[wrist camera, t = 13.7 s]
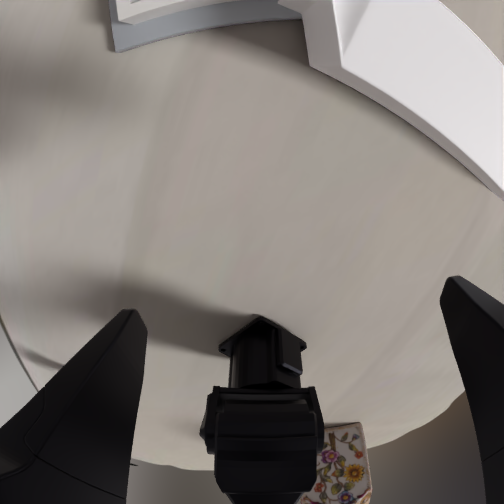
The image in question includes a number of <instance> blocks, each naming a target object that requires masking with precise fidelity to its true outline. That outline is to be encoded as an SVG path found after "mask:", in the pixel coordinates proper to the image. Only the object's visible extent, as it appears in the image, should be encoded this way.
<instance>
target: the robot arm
mask: <svg viewBox="0 0 504 504" xmlns="http://www.w3.org/2000/svg"><path fill="white" fill-rule="evenodd" d="M440 306H441V310H442V313H443V317H444V320H445V324H446V327H447V331H448V335H449V339H450V343H451V346H452V350H453V353H454V356H455V359H456V362H457V365H458V368H459V371H460V374H461V377H462V381H463V384H464V387H465V391H466V394H467V398H468V402H469V405H470V409H471V413H472V417H473V421H474V426H475V431H476V435H477V440H478V445H479V451H480V457H481V461H482V463H481V464H482V470H483V478H484V486H485V496H486V504H504V304H502V303H501V302H499V301H498V300H496V299H495V298H493V297H492V296H490V295H489V294H487V293H486V292H484V291H483V290H481V289H480V288H478V287H477V286H475V285H474V284H472V283H471V282H469V281H468V280H466V279H464V278H463V277H461V276H452V277H448V278H447V280H446V282H445V285H444V288H443V291H442V294H441V296H440ZM146 344H147V328H146V326H145V324H144V322H143V320H142V318H141V316H140V315H139V313H138V311H137V310H136V309H123V310H121V311H120V312H119V313H118V314H117V315H116V316H115V317H114V318H113V319H112V320H111V321H110V322H108V323H107V324H106V325H105V326H104V327H103V328H102V329H101V330H100V331H99V332H98V333H97V334H96V335H95V336H94V337H93V338H92V339H91V340H90V341H89V342H88V343H87V344H86V345H85V346H84V347H83V348H82V349H80V350H79V351H78V352H77V353H76V354H75V355H74V356H73V357H72V358H71V359H70V360H69V361H68V362H67V363H66V364H65V365H64V366H63V367H62V368H61V369H60V370H59V371H58V372H57V373H56V374H55V375H54V376H53V377H52V379H51V380H50V381H49V382H48V383H47V384H46V385H45V387H43V388H42V389H41V390H40V391H39V392H38V393H37V394H36V395H35V396H34V397H33V398H32V399H31V400H30V401H29V402H28V403H27V404H26V405H25V406H24V407H23V408H22V409H21V410H20V411H19V412H18V413H16V414H15V415H14V416H13V417H12V418H11V419H10V420H9V421H8V422H7V423H6V424H4V425H3V426H2V427H1V428H0V504H126V496H127V486H128V476H129V467H130V460H131V452H132V445H133V438H134V431H135V424H136V418H137V412H138V406H139V401H140V395H141V389H142V384H143V376H144V365H145V354H146ZM306 348H307V345H306V342H304V341H302V340H301V339H299V338H297V337H296V336H294V335H292V334H291V333H289V332H287V331H286V330H284V329H282V328H281V327H279V326H277V325H276V324H274V323H272V322H271V321H269V320H268V319H266V318H264V317H258V318H256V319H255V320H254V321H252V322H251V323H250V324H248V325H247V326H246V327H244V328H243V329H241V330H240V331H239V332H237V333H236V334H234V335H233V336H232V337H230V338H229V339H227V340H226V341H225V342H223V343H222V344H220V345H219V352H221V353H223V354H225V355H227V356H229V357H230V370H229V384H228V388H227V387H220V386H213V392H212V393H210V394H209V395H208V396H207V405H206V412H205V415H204V418H203V421H202V425H201V428H200V436H201V437H202V439H203V440H204V441H205V445H206V446H207V453H208V454H213V455H215V461H214V475H215V478H216V482H217V484H218V486H219V488H220V489H221V491H222V492H223V493H226V495H227V496H228V498H229V499H230V500H231V502H232V503H233V504H296V503H297V502H298V501H299V499H300V498H301V497H302V495H303V494H304V493H305V492H310V491H311V490H312V488H313V486H314V484H315V483H316V480H317V454H320V453H321V452H322V450H323V446H324V434H325V432H324V422H323V417H322V413H321V409H320V406H319V402H318V398H317V394H316V390H315V387H314V386H312V387H308V388H301V382H300V375H301V374H302V372H303V369H302V361H301V352H302V351H303V350H305V349H306Z"/></svg>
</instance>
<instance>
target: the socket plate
mask: <svg viewBox="0 0 504 504" xmlns="http://www.w3.org/2000/svg"><path fill="white" fill-rule="evenodd" d="M278 1H279V0H108V2H109V10H110V18H111V25H112V32H113V39H114V45H115V51H116V53H122V52H124V51H127V50H130V49H133V48H136V47H140V46H143V45H146V44H149V43H153V42H156V41H160V40H163V39H167V38H171V37H175V36H179V35H183V34H188V33H192V32H197V31H202V30H207V29H212V28H218V27H224V26H231V25H238V24H245V23H254V22H264V21H277V20H298V19H302V14H300V13H298V12H296V11H294V10H291V9H289V8H286V7H284V6H282V5H280V4H278Z"/></svg>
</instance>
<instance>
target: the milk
mask: <svg viewBox="0 0 504 504" xmlns="http://www.w3.org/2000/svg"><path fill="white" fill-rule="evenodd" d="M278 4H280V5H282V6H284V7H286V8H289V9H291V10H294V11H296V12H298V13H300V14H302V19H303V25H304V31H305V38H306V44H307V51H308V59H309V65H310V66H311V67H312V68H314V69H317V70H319V71H321V72H323V73H325V74H327V75H329V76H331V77H333V78H335V79H337V80H339V81H340V82H342V83H344V84H346V85H348V86H350V87H352V88H353V89H355V90H357V91H359V92H361V93H362V94H364V95H366V96H367V97H369V98H371V99H372V100H374V101H376V102H377V103H379V104H381V105H382V106H384V107H385V108H387V109H389V110H390V111H392V112H393V113H395V114H396V115H398V116H399V117H401V118H402V119H404V120H405V121H407V122H408V123H410V124H411V125H413V126H414V127H415V128H417V129H418V130H420V131H421V132H422V133H424V134H425V135H426V136H428V137H429V138H430V139H432V140H433V141H434V142H436V143H437V144H438V145H440V146H441V147H442V148H443V149H445V150H446V151H447V152H448V153H450V154H451V155H452V156H453V157H454V158H456V159H457V160H458V161H459V162H460V163H462V164H463V165H464V166H465V167H466V168H467V169H468V170H470V171H471V172H472V173H473V174H474V175H475V176H476V177H477V178H478V179H479V180H481V181H482V182H483V183H484V184H485V185H486V186H487V187H488V188H489V189H490V190H491V191H492V192H493V193H494V194H496V195H497V196H498V197H499V198H501V199H502V200H503V201H504V65H503V64H502V63H501V62H500V60H499V59H498V58H497V57H496V56H495V55H494V53H493V52H492V51H491V50H490V49H489V48H488V47H487V46H486V45H485V43H484V42H483V41H482V40H481V39H480V38H479V37H478V36H477V35H476V34H475V33H474V32H473V31H472V30H471V29H470V28H469V27H468V26H467V25H466V24H465V23H464V22H463V21H462V20H461V19H460V18H458V17H457V16H456V15H455V14H454V13H453V12H452V11H451V10H450V9H448V8H447V7H446V6H445V5H444V4H443V3H441V2H440V1H439V0H279V1H278Z"/></svg>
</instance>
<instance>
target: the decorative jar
mask: <svg viewBox="0 0 504 504" xmlns="http://www.w3.org/2000/svg"><path fill="white" fill-rule="evenodd" d="M324 432H325V434H324V446H323V450H322V452H321V453H320V454H317V480H316V483H315V484H314V486H313V488H312V490H311V491H310V492H305V493H304V494H303V495H302V497H301V504H369V501H370V497H371V492H372V486H371V485H372V484H371V476H370V468H369V461H368V456H367V448H366V442H365V436H364V431H363V427H362V424H361V423H354V424H349V425H344V426H338V427H331V428H324Z"/></svg>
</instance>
